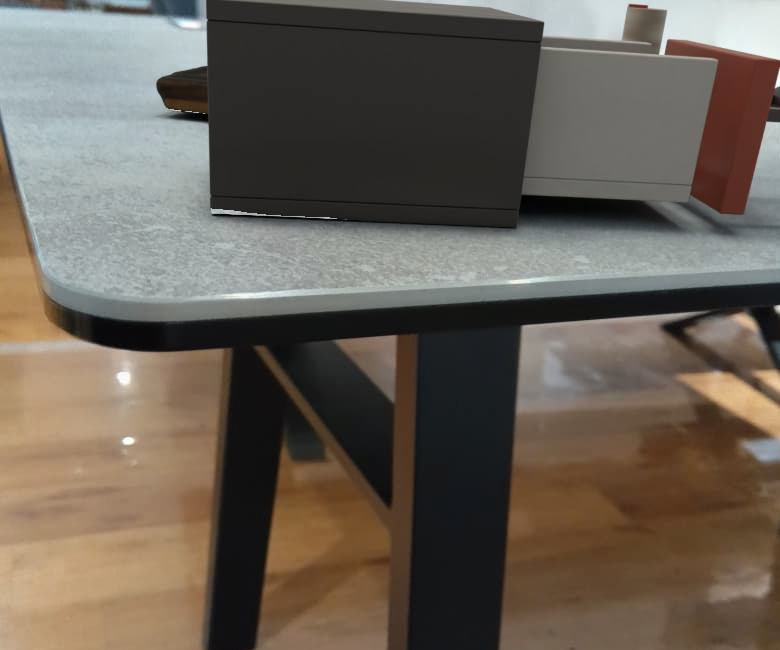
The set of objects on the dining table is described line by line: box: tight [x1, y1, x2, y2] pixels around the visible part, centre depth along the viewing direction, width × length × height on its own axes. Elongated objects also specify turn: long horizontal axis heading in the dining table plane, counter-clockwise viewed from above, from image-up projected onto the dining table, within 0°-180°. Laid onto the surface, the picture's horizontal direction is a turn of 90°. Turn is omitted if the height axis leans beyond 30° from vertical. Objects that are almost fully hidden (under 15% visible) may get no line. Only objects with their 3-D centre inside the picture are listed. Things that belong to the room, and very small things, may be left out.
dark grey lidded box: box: [205, 0, 545, 229], centre depth 42 cm, size 14×12×9 cm
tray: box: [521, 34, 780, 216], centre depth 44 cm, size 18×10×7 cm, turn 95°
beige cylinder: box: [621, 3, 668, 55], centre depth 91 cm, size 4×4×6 cm
